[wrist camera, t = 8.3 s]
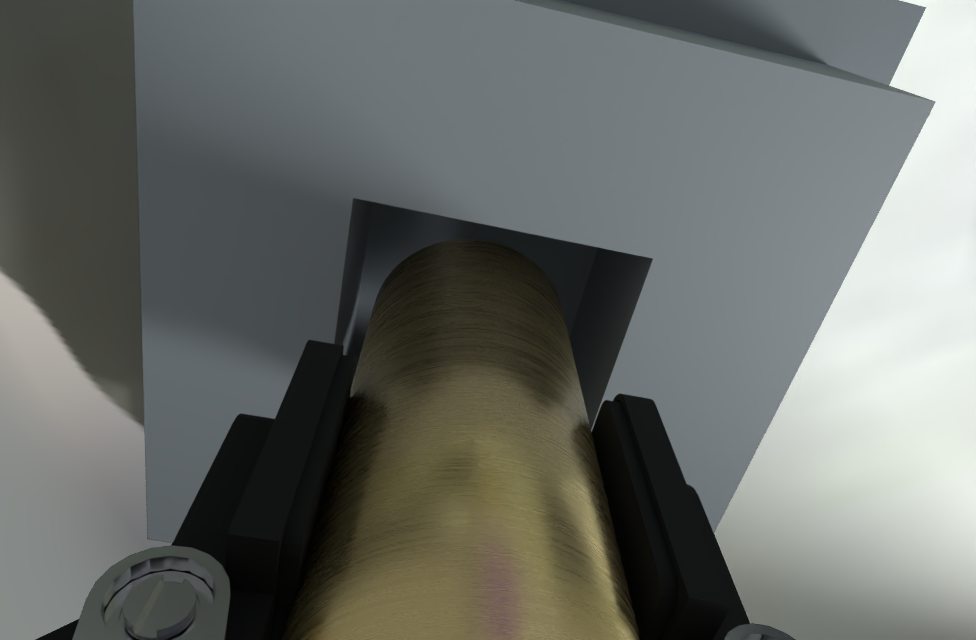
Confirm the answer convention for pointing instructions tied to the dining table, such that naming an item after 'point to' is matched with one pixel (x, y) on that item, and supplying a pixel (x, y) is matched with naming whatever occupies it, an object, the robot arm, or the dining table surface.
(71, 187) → the dining table surface
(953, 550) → the dining table surface
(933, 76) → the dining table surface
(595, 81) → the socket fitting
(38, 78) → the dining table surface
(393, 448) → the pipe stub
